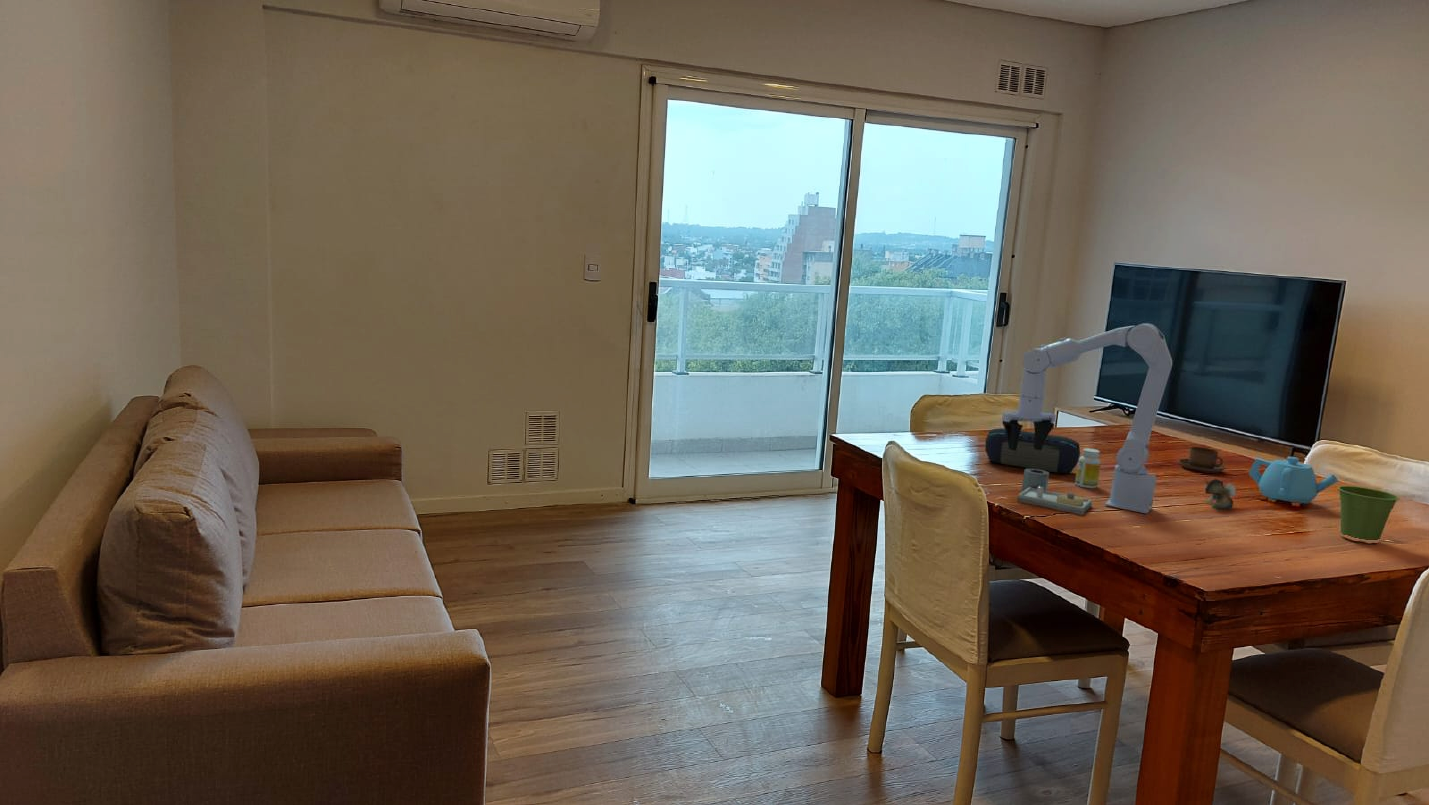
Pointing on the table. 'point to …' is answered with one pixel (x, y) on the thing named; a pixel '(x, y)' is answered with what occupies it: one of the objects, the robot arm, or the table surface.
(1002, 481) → the table surface
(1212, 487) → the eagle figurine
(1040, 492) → the carrier pin
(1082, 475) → the supplement bottle
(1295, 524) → the table surface
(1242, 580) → the table surface
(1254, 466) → the teapot
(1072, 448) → the portable speaker
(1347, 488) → the plant pot
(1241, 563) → the table surface
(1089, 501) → the carrier board
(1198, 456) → the cup and saucer
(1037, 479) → the grey hexagonal nut
